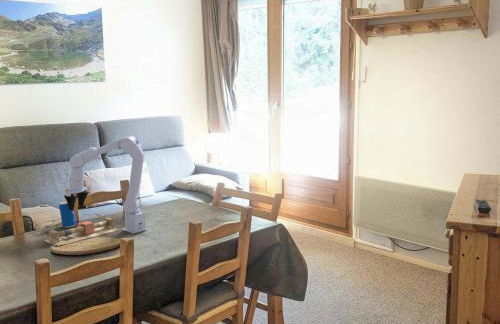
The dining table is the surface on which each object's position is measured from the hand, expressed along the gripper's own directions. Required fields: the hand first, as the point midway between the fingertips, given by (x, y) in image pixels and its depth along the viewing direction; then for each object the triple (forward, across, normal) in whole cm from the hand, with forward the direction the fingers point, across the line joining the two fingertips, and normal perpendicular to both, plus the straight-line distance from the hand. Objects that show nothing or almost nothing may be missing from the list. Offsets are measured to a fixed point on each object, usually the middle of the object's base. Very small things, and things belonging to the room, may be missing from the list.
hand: (76, 208), depth 232 cm
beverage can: (+11, -5, -6) cm, 13 cm away
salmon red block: (+9, +5, +9) cm, 13 cm away
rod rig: (+10, +7, +9) cm, 15 cm away
